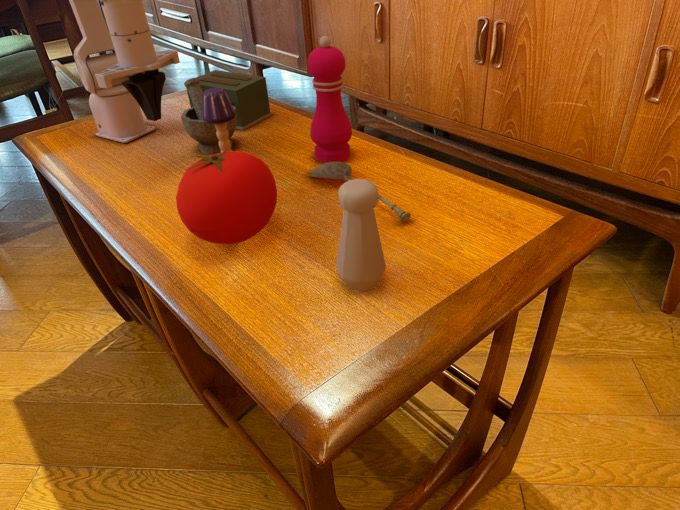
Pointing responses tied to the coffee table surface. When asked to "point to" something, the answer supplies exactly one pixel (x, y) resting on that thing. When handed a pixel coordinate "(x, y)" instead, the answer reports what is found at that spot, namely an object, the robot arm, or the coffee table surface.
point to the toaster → (240, 95)
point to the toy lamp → (218, 114)
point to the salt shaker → (359, 236)
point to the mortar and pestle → (196, 124)
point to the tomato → (226, 197)
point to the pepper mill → (329, 104)
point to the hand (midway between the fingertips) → (154, 119)
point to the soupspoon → (343, 173)
